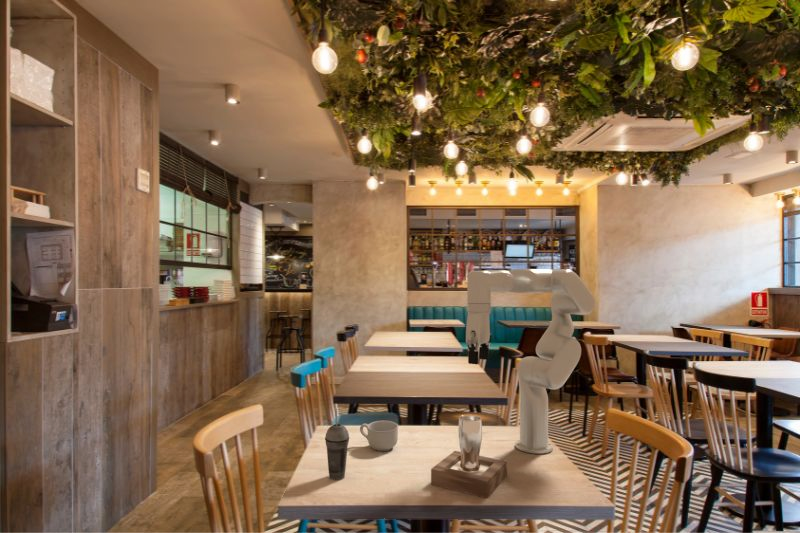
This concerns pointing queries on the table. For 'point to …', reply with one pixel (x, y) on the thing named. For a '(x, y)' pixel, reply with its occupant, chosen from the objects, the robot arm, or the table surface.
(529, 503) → the table surface
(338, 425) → the beverage cup
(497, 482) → the frame
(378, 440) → the teacup
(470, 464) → the beer glass
